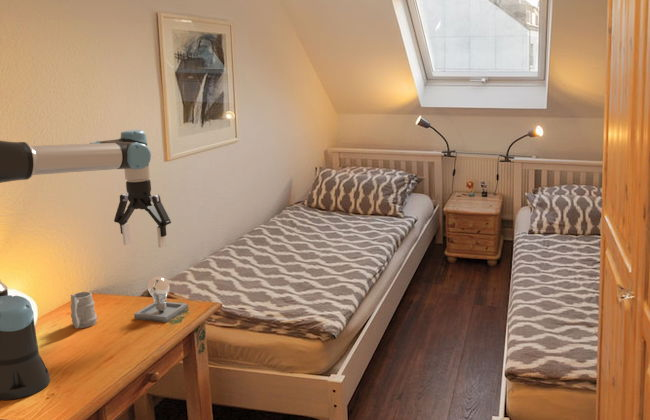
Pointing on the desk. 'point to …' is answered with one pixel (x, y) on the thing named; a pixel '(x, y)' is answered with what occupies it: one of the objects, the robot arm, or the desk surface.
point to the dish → (165, 316)
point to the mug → (83, 310)
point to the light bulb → (159, 291)
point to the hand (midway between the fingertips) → (144, 245)
